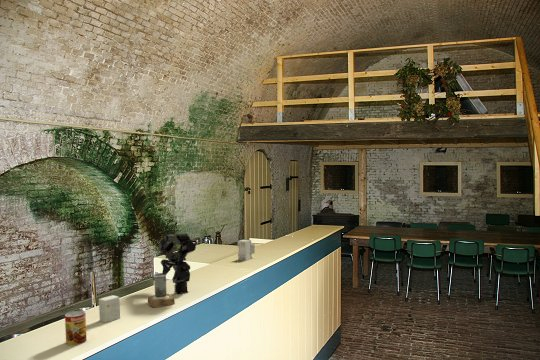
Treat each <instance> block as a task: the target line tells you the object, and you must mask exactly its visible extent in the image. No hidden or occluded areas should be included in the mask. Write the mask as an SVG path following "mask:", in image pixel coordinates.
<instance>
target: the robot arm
mask: <svg viewBox="0 0 540 360" xmlns="http://www.w3.org/2000/svg"><path fill="white" fill-rule="evenodd" d="M175 244H177V245H178V246H179V245H180V246H179V248H178V249H177V251H174V247H175ZM196 248H197V245H196V244H195V242H193V240H192V239H191V237H190V236H189V234H188V233H187V232H183V233H176V234H173V233H171V234H170V233H169V234H164V237H163V238H162V239H161V240H160V241H159V245H158V251H159V252H160V253H161V255H163V256H164V257H165V258H164V259H161V261H160V264H161V265H162V272H161V273H166V275H168V273H169V272H170V271H171V269H172V268H173V270H174V273H173V276H172V283H173V284H174V286H173V287H174V294H175V293H176V294H177V295H182V294H186V293H189V291H188V282H190V279H191V278H190V277H191V272H190V269H191V265H190V264H189V263H188V262H187V261H186V260H187V256H188V254H191V253H192V252H195V251H196Z"/></svg>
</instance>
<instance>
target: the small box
mask: <svg viewBox="0 0 540 360" xmlns="http://www.w3.org/2000/svg"><path fill="white" fill-rule="evenodd" d="M120 301H121V300H120V296H117V295H113V294H112V295H109V296H105V297H102V298H99V299H98V310H99V311H98V313H99V321H101V322H103V323H109V322H112V321H116V320H118V319H121V304H120V303H121V302H120Z"/></svg>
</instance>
